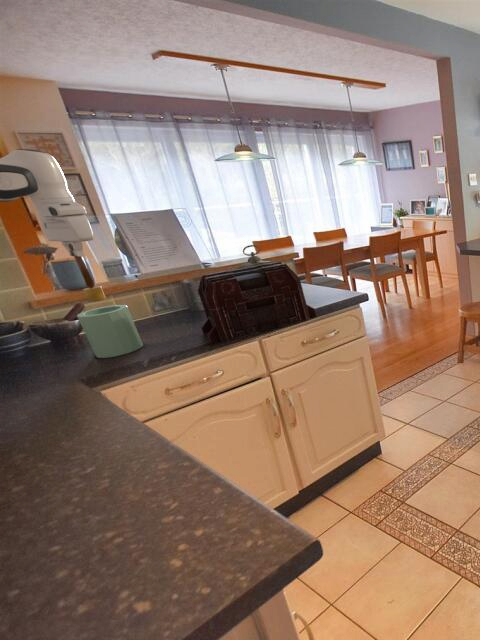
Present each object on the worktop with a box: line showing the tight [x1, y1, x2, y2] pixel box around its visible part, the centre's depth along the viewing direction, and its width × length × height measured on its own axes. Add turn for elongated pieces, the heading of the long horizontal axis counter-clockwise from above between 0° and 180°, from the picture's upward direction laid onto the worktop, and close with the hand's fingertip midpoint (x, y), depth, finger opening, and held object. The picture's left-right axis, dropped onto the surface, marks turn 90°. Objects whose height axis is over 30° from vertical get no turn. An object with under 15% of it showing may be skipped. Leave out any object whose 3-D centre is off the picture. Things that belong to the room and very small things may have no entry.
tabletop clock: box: [236, 244, 274, 270], centre depth 185 cm, size 14×9×25 cm, turn 147°
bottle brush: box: [68, 243, 107, 303], centre depth 135 cm, size 4×4×18 cm
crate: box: [197, 261, 317, 344], centre depth 157 cm, size 35×19×21 cm, turn 133°
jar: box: [76, 304, 144, 359], centre depth 142 cm, size 12×12×14 cm
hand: (77, 256), depth 133 cm, fingers closed on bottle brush, 2 cm apart
